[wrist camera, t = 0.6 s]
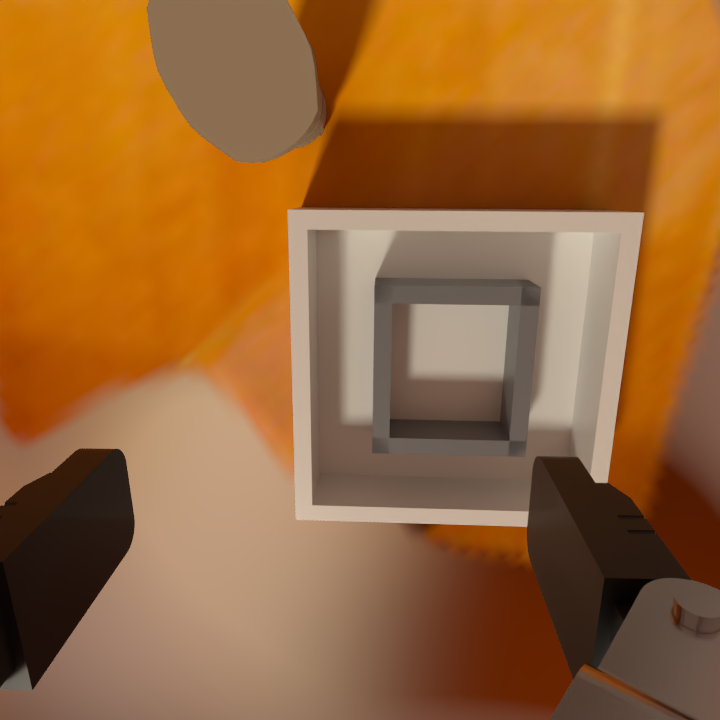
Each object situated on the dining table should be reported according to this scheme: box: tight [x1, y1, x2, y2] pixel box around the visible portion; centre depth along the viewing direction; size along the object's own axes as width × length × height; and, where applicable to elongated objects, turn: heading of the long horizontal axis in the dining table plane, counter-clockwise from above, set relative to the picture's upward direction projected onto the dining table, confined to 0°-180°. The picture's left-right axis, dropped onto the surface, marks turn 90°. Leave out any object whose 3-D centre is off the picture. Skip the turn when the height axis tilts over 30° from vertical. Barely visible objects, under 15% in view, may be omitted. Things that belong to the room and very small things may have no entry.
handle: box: [147, 0, 326, 163], centre depth 26 cm, size 5×6×15 cm
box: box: [288, 207, 644, 527], centre depth 35 cm, size 18×18×5 cm
